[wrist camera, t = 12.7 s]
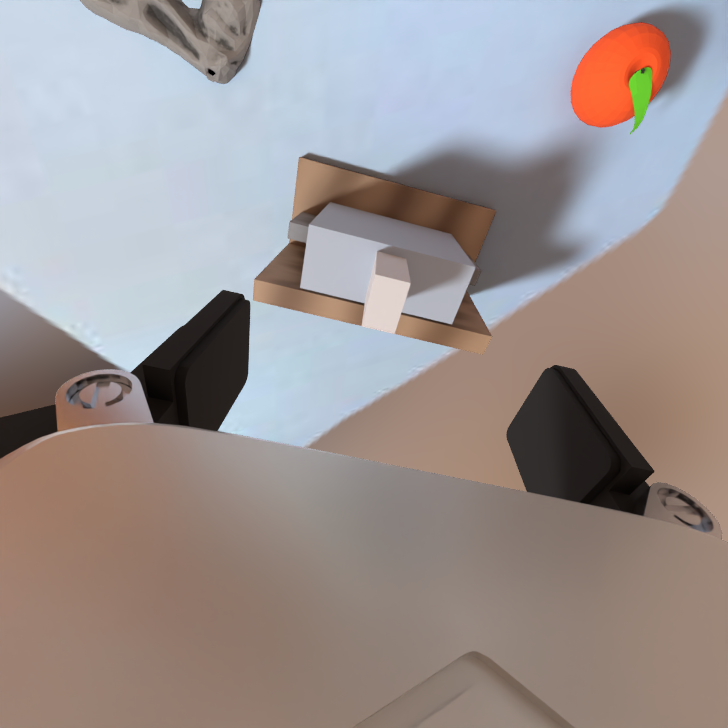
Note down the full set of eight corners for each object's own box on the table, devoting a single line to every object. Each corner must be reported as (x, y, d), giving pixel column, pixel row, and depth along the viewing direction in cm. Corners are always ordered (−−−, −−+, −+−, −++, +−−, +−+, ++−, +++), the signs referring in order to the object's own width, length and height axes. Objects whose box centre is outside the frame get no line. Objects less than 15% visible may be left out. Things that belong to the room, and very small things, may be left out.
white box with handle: (451, 234, 39) (495, 293, 24) (435, 279, 42) (464, 359, 26) (330, 202, 38) (291, 242, 22) (322, 250, 41) (283, 316, 25)
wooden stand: (493, 209, 39) (541, 238, 27) (457, 299, 45) (483, 354, 33) (300, 157, 37) (261, 163, 25) (289, 257, 43) (253, 300, 31)
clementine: (642, 115, 34) (697, 108, 28) (567, 154, 36) (604, 156, 30) (632, 15, 30) (693, -16, 24) (550, 65, 32) (587, 47, 26)
